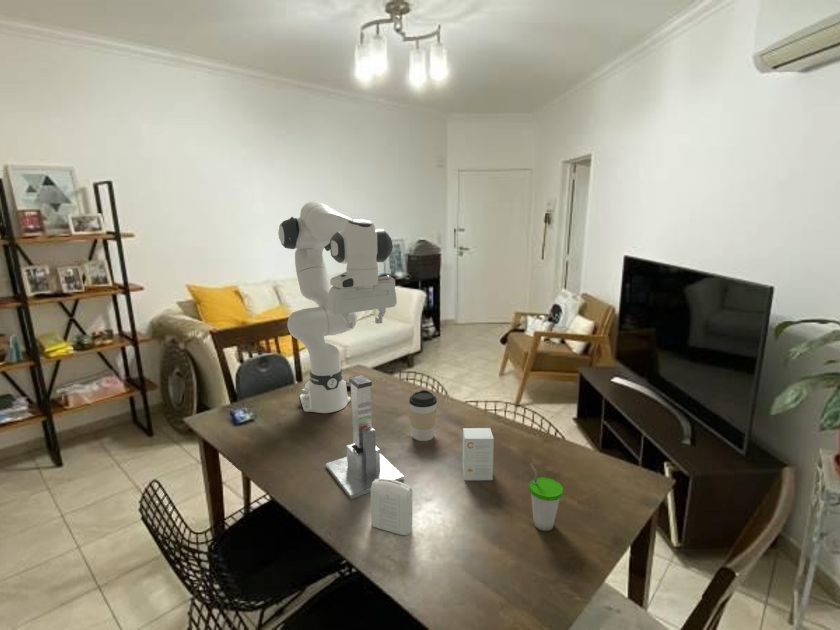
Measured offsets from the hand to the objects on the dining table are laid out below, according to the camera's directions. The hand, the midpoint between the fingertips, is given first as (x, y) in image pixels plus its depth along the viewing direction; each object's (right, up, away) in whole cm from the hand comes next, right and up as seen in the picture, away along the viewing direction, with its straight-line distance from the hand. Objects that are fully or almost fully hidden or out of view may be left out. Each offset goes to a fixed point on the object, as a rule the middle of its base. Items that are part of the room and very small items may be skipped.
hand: (364, 325), depth 131 cm
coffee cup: (+17, -38, +20) cm, 46 cm away
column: (0, -33, -3) cm, 33 cm away
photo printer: (+9, -48, -23) cm, 54 cm away
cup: (+46, -48, -22) cm, 70 cm away
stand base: (0, -43, -1) cm, 42 cm away
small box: (+32, -43, -2) cm, 54 cm away
